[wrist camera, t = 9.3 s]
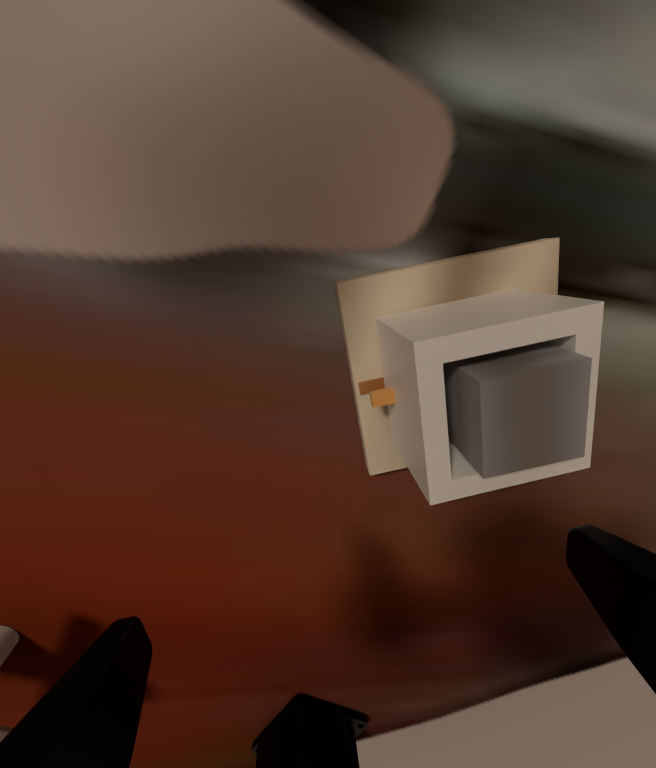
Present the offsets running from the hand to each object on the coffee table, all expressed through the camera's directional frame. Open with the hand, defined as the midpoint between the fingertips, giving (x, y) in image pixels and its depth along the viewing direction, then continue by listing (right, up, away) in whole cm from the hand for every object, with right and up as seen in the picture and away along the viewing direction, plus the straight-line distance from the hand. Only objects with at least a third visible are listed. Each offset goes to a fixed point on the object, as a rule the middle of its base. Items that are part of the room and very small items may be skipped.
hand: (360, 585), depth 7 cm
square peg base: (+5, +5, +11) cm, 13 cm away
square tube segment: (+5, +5, +10) cm, 12 cm away
